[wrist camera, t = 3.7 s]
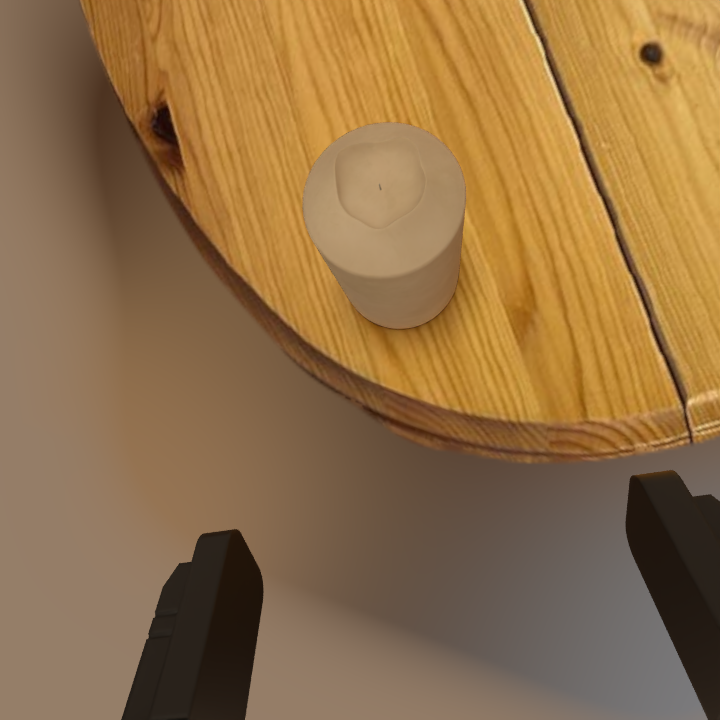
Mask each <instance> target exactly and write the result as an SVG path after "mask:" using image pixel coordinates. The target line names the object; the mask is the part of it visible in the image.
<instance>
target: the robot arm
mask: <svg viewBox="0 0 720 720" xmlns="http://www.w3.org/2000/svg"><path fill="white" fill-rule="evenodd" d="M626 534H627V539H628V543H629V546H630V549H631V552H632V555H633V557H634V559H635V562H636V564H637V566H638V568H639V570H640V572H641V574H642V577H643V579H644V581H645V583H646V585H647V588H648V590H649V592H650V594H651V596H652V598H653V601H654V603H655V605H656V607H657V609H658V612H659V614H660V616H661V618H662V620H663V622H664V625H665V627H666V629H667V631H668V633H669V636H670V637H671V640H672V642H673V644H674V646H675V649H676V651H677V653H678V655H679V657H680V659H681V662H682V664H683V666H684V668H685V670H686V673H687V675H688V677H689V679H690V681H691V683H692V686H693V688H694V690H695V692H696V694H697V696H698V699H699V701H700V703H701V705H702V707H703V710H704V712H705V714H706V716H707V718H708V720H720V501H718V500H717V499H716V498H715V497H713V496H712V495H703V496H695V497H692V495H691V494H690V492H689V490H688V489H687V487H686V485H685V484H684V482H683V481H682V479H681V478H680V476H679V475H678V474H677V473H676V472H675V471H673V470H669V471H662V472H654V473H647V474H640V475H633V476H631V478H630V483H629V493H628V503H627V514H626ZM262 603H263V580H262V575H261V572H260V569H259V567H258V565H257V563H256V561H255V559H254V557H253V555H252V554H251V552H250V550H249V548H248V546H247V544H246V542H245V540H244V538H243V536H242V534H241V533H240V531H238V530H237V529H234V530H227V531H220V532H212V533H205V534H202V535H201V536H200V537H199V539H198V541H197V544H196V547H195V551H194V555H193V558H192V562H187V563H179V565H178V566H177V567H176V569H175V570H174V572H173V573H172V575H171V576H170V578H169V579H168V580H167V582H166V583H165V585H164V586H163V589H162V592H161V595H160V598H159V601H158V604H157V608H156V611H155V618H153V621H152V624H151V627H150V630H149V633H148V634H149V638H148V639H147V640H146V643H145V646H144V649H143V652H142V656H141V659H140V662H139V665H138V668H137V672H136V675H135V678H134V681H133V684H132V688H131V691H130V694H129V697H128V700H127V703H126V707H125V710H124V713H123V716H122V719H121V720H245V716H246V708H247V702H248V696H249V689H250V682H251V675H252V669H253V663H254V656H255V649H256V643H257V636H258V629H259V623H260V616H261V609H262Z"/></svg>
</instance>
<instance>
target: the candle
mask: <svg viewBox="0 0 720 720" xmlns="http://www.w3.org/2000/svg"><path fill="white" fill-rule="evenodd" d="M465 204H466V187H465V181H464V177H463V174H462V171H461V168H460V166H459V164H458V162H457V160H456V158H455V157H454V155H453V154H452V152H451V151H450V150H449V149H448V147H447V146H446V145H445V144H444V143H443V142H441V141H440V140H439V139H438V138H437V137H435V136H434V135H432V134H430V133H429V132H427V131H425V130H423V129H420V128H418V127H415V126H412V125H408V124H402V123H392V122H385V123H375V124H370V125H366V126H363V127H360V128H357V129H355V130H353V131H350V132H348V133H346V134H345V135H343V136H342V137H340V138H338V139H337V140H336V141H335V142H333V143H332V144H331V145H330V146H329V147H328V148H327V149H326V150H325V151H324V152H323V153H322V154H321V155H320V157H319V158H318V159H317V161H316V162H315V164H314V166H313V167H312V169H311V171H310V173H309V176H308V178H307V181H306V184H305V188H304V194H303V215H304V220H305V224H306V228H307V230H308V233H309V235H310V237H311V239H312V241H313V242H314V244H315V246H316V247H317V249H318V251H319V252H320V254H321V255H322V257H323V259H324V260H325V262H326V263H327V265H328V267H329V268H330V270H331V271H332V273H333V275H334V276H335V278H336V279H337V281H338V283H339V284H340V286H341V287H342V289H343V291H344V292H345V294H346V295H347V297H348V299H349V300H350V302H351V303H352V304H353V306H354V307H355V308H356V309H357V311H358V312H359V313H360V314H361V315H363V316H364V317H365V318H367V319H368V320H370V321H372V322H373V323H375V324H378V325H381V326H383V327H388V328H394V329H406V328H412V327H416V326H419V325H422V324H424V323H426V322H428V321H430V320H431V319H433V318H434V317H435V316H437V315H438V314H439V313H440V312H441V311H442V310H443V309H444V308H445V307H446V305H447V304H448V303H449V301H450V300H451V298H452V296H453V294H454V291H455V289H456V285H457V282H458V276H459V267H460V256H461V246H462V235H463V225H464V214H465Z"/></svg>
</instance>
